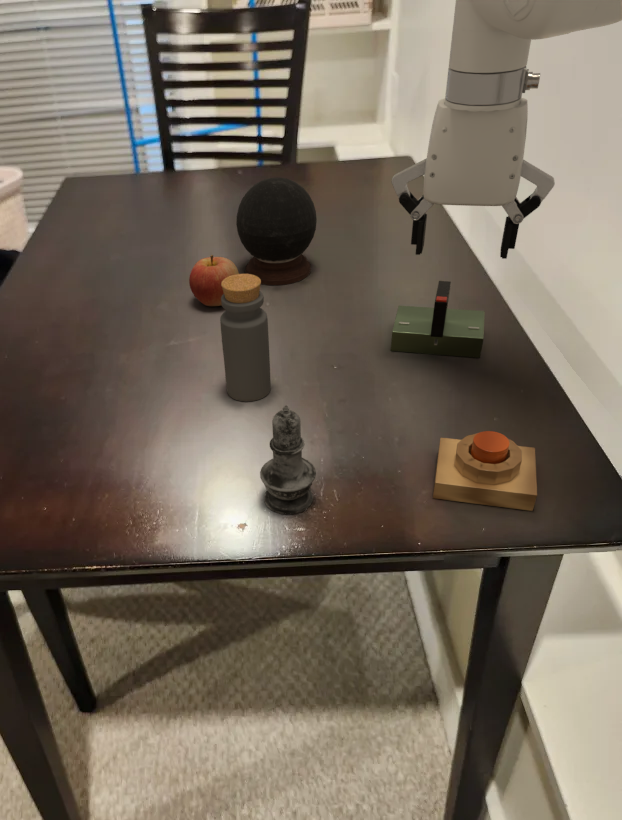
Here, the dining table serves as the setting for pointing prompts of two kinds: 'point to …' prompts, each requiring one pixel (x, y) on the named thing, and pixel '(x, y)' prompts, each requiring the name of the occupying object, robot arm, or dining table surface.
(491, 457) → the button
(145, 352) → the dining table surface
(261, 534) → the dining table surface
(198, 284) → the apple
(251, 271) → the black ball on stand
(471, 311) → the clamp panel
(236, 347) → the bottle
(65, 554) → the dining table surface
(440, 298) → the black block
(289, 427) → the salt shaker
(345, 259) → the dining table surface
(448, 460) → the button block
